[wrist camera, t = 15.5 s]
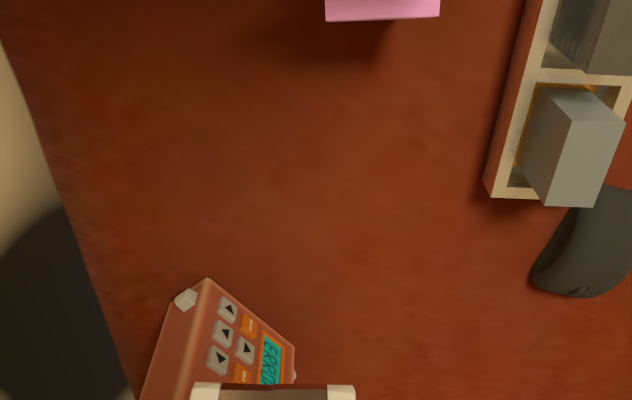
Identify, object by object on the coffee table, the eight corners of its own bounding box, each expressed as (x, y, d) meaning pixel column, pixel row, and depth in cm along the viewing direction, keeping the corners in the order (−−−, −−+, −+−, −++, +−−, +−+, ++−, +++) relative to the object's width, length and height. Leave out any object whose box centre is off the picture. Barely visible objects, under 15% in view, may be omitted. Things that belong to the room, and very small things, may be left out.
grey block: (539, 85, 40) (572, 120, 35) (586, 88, 40) (626, 123, 35) (517, 163, 43) (543, 205, 38) (560, 165, 43) (592, 207, 38)
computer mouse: (522, 277, 51) (537, 307, 48) (585, 178, 45) (607, 204, 42) (582, 290, 52) (601, 321, 49) (652, 194, 46) (678, 222, 43)
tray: (550, -96, 34) (596, -85, 28) (675, -89, 34) (745, -77, 29) (481, 179, 45) (504, 225, 39) (576, 183, 45) (613, 230, 40)
